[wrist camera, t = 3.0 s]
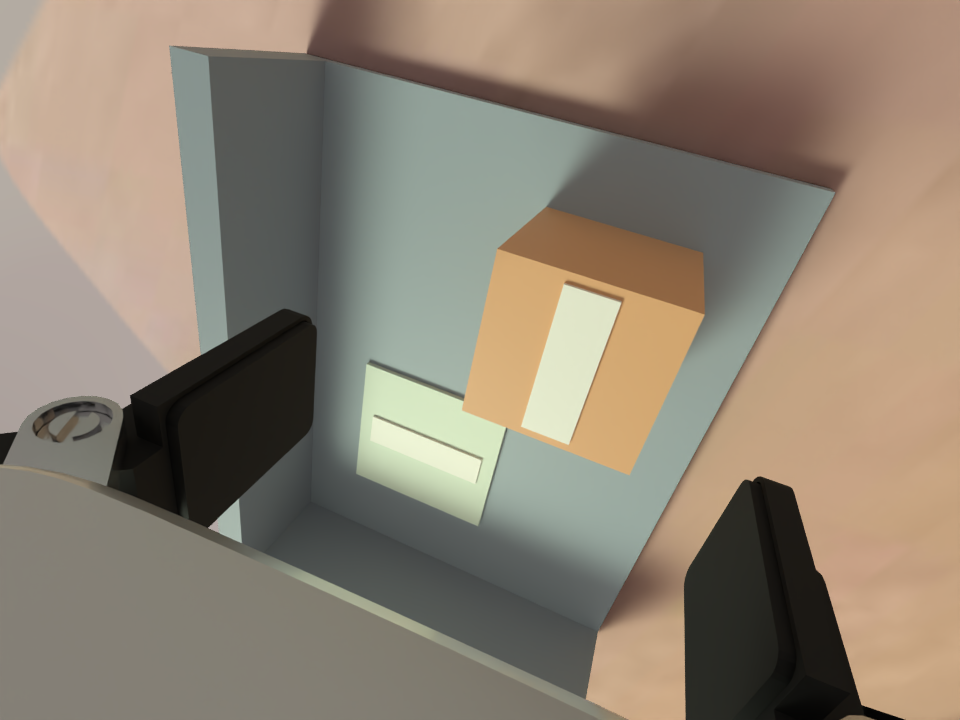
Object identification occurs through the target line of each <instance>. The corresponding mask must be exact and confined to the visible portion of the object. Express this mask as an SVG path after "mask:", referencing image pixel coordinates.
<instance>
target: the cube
mask: <svg viewBox="0 0 960 720" xmlns="http://www.w3.org/2000/svg"><path fill="white" fill-rule="evenodd" d="M704 315H705V300H704V264H703V253H702V252H699V251H696V250H692V249H689V248H685V247H682V246H678V245H675V244H672V243H668V242H665V241H661V240H658V239H655V238H651V237H648V236H644V235H641V234H638V233H634V232H631V231H627V230H624V229H621V228H617V227H614V226H610V225H607V224H604V223H600V222H597V221H593V220H590V219H587V218H583V217H580V216H576V215H573V214H569V213H566V212H563V211H559V210H556V209H552V208H549V207H545V208H544V209H543V210H542V211H541V212H539V213H538V214H537V215H536V216H535V217H534V218H532V219H531V220H530V221H529V222H528V223H527V224H525V225H524V226H523V227H522V228H521V229H520V230H518V231H517V232H516V233H515V234H514V235H513V236H511V237H510V238H509V239H508V240H507V241H506V242H504V243H503V244H502V245H501V246H500V247H499V248H497V252H496V256H495V261H494V265H493V270H492V274H491V279H490V284H489V288H488V293H487V297H486V302H485V306H484V311H483V315H482V320H481V325H480V329H479V334H478V338H477V343H476V347H475V352H474V356H473V361H472V366H471V370H470V375H469V379H468V384H467V388H466V393H465V398H464V402H463V407H462V411H465V412H467V413H470V414H472V415H475V416H477V417H480V418H483V419H485V420H488V421H490V422H493V423H496V424H498V425H501V426H503V427H506V428H508V429H511V430H514V431H516V432H519V433H521V434H524V435H527V436H529V437H532V438H534V439H537V440H539V441H542V442H545V443H547V444H550V445H552V446H555V447H557V448H560V449H563V450H565V451H568V452H570V453H573V454H576V455H578V456H581V457H583V458H586V459H588V460H591V461H594V462H596V463H599V464H601V465H604V466H606V467H609V468H612V469H614V470H617V471H619V472H622V473H625V474H627V475H630V473H631V471H632V469H633V467H634V465H635V463H636V460H637V458H638V456H639V454H640V452H641V450H642V448H643V445H644V443H645V441H646V439H647V437H648V435H649V433H650V431H651V428H652V426H653V424H654V422H655V420H656V418H657V416H658V413H659V411H660V409H661V407H662V405H663V403H664V401H665V399H666V396H667V394H668V392H669V390H670V388H671V386H672V384H673V382H674V379H675V377H676V375H677V373H678V371H679V369H680V367H681V364H682V362H683V360H684V358H685V356H686V354H687V352H688V350H689V347H690V345H691V343H692V341H693V339H694V337H695V335H696V332H697V330H698V328H699V326H700V324H701V322H702V320H703V318H704Z"/></svg>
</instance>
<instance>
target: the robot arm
mask: <svg viewBox="0 0 960 720" xmlns="http://www.w3.org/2000/svg"><path fill="white" fill-rule="evenodd" d="M316 347H317V328H316V326H315V325H313V324H312V320H311V318H310V317H309V316H306V315H304V314H301V313H298V312H295V311H292V310H290V309H285V308H284V309H281V310H279V311H278V312H276V313H274V314H272V315H271V316H269V317H267V318H265V319H264V320H262V321H260V322H258V323H257V324H255V325H253V326H251V327H250V328H248V329H246V330H244V331H243V332H241V333H239V334H237V335H235V336H234V337H232V338H230V339H228V340H227V341H225V342H223V343H221V344H220V345H218V346H216V347H214V348H213V349H211V350H209V351H207V352H206V353H204V354H202V355H200V356H199V357H197V358H195V359H193V360H192V361H190V362H188V363H186V364H185V365H183V366H181V367H179V368H178V369H176V370H174V371H172V372H171V373H169V374H167V375H165V376H164V377H162V378H160V379H158V380H157V381H155V382H153V383H151V384H150V385H148V386H146V387H144V388H143V389H141V390H139V391H137V392H136V393H134V394H132V395H130V398H131V404H130V405H128V406H127V407H125V408H123V409H121V408H120V406H119V405H118V404H117V403H115V402H114V401H112V400H109V399H106V398H102V397H97V396H79V397H71V398H66V399H62V400H58V401H55V402H51V403H49V404H47V405H45V406H43V407H40V408H38V409H37V410H35V411H34V412H33V413H31V414H30V415H29V416H27V418H26V419H25V420H24V422H23V423H22V425H21V426H20V429H19V431H18V432H13V433H4V434H0V720H628V719H626V718H624V717H622V716H620V715H618V714H616V713H613V712H611V711H609V710H607V709H605V708H603V707H601V706H599V705H597V704H595V703H592V702H590V701H588V700H586V699H584V698H582V697H579V696H577V695H575V694H573V693H571V692H568V691H566V690H564V689H562V688H560V687H558V686H555V685H553V684H551V683H549V682H547V681H545V680H542V679H540V678H538V677H536V676H534V675H531V674H529V673H527V672H525V671H523V670H521V669H518V668H516V667H514V666H512V665H510V664H508V663H505V662H503V661H501V660H499V659H497V658H494V657H492V656H490V655H488V654H486V653H484V652H481V651H479V650H477V649H475V648H473V647H471V646H468V645H466V644H464V643H462V642H460V641H457V640H455V639H453V638H451V637H449V636H446V635H444V634H442V633H440V632H438V631H435V630H433V629H431V628H429V627H427V626H424V625H422V624H420V623H418V622H416V621H413V620H411V619H409V618H407V617H405V616H402V615H400V614H398V613H396V612H394V611H391V610H389V609H387V608H385V607H383V606H380V605H378V604H376V603H374V602H372V601H369V600H367V599H365V598H363V597H360V596H358V595H356V594H354V593H352V592H349V591H347V590H345V589H343V588H341V587H338V586H336V585H334V584H332V583H329V582H327V581H325V580H323V579H321V578H318V577H316V576H314V575H312V574H310V573H307V572H305V571H303V570H301V569H298V568H296V567H294V566H292V565H289V564H287V563H285V562H283V561H280V560H278V559H276V558H274V557H271V556H269V555H267V554H265V553H262V552H260V551H258V550H256V549H254V548H251V547H249V546H247V545H245V544H242V543H240V542H238V541H236V540H233V539H231V538H229V537H227V536H224V535H222V534H220V533H218V532H215V531H213V530H211V529H209V528H208V527H209V526H210V525H211V524H212V523H213V522H215V521H216V520H217V519H218V518H219V517H220V516H221V515H222V514H223V513H224V512H225V511H226V510H227V509H228V508H229V507H230V506H232V505H233V504H234V503H235V502H236V501H237V500H238V499H239V498H240V497H241V496H242V495H243V494H244V493H245V492H246V491H247V490H248V489H250V488H251V487H252V486H253V485H254V484H255V483H256V482H257V481H258V480H259V479H260V478H261V477H262V476H263V475H264V474H265V473H266V472H267V471H269V470H270V469H271V468H272V467H273V466H274V465H275V464H276V463H277V462H278V461H279V460H280V459H281V458H282V457H283V456H284V455H285V454H287V453H288V452H289V451H290V450H291V449H292V448H293V447H294V446H295V445H296V444H297V443H298V442H299V441H300V440H301V439H302V438H303V437H304V436H306V434H307V433H308V432H309V430H310V428H311V426H312V423H313V414H314V392H315V369H316ZM684 618H685V698H686V720H874V719H871V718H868V717H865V716H864V712H863V709H862V706H861V702H860V699H859V695H858V692H857V689H856V685H855V682H854V678H853V675H852V672H851V668H850V665H849V662H848V658H847V655H846V651H845V648H844V645H843V641H842V638H841V634H840V631H839V628H838V624H837V621H836V617H835V614H834V611H833V607H832V604H831V601H830V597H829V594H828V590H827V587H826V584H825V581H824V579H823V577H822V575H821V574H820V573H819V572H818V571H816V568H815V565H814V561H813V558H812V554H811V551H810V547H809V544H808V540H807V537H806V533H805V530H804V526H803V523H802V519H801V516H800V512H799V509H798V505H797V502H796V498H795V494H794V491H793V489H792V488H791V487H789V486H786V485H783V484H780V483H778V482H775V481H772V480H769V479H766V478H763V477H761V476H760V477H757V478H756V479H754V481H753V482H752V481H749V480H744V481H743V482H742V483H741V485H740V486H739V488H738V489H737V491H736V493H735V494H734V496H733V497H732V499H731V501H730V502H729V504H728V506H727V507H726V509H725V510H724V512H723V514H722V515H721V517H720V518H719V520H718V522H717V523H716V525H715V527H714V528H713V530H712V531H711V533H710V535H709V536H708V538H707V539H706V541H705V543H704V544H703V546H702V548H701V549H700V551H699V552H698V554H697V556H696V557H695V559H694V560H693V562H692V564H691V565H690V567H689V569H688V571H687V574H686V577H685V582H684Z"/></svg>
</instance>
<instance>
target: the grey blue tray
mask: <svg viewBox="0 0 960 720" xmlns="http://www.w3.org/2000/svg"><path fill="white" fill-rule="evenodd" d="M169 47H170V57H171V67H172V77H173V86H174V96H175V106H176V116H177V126H178V135H179V145H180V155H181V165H182V175H183V184H184V194H185V204H186V214H187V224H188V233H189V243H190V253H191V263H192V273H193V282H194V292H195V302H196V312H197V322H198V331H199V341H200V351H201V355H202V354H204V353H206V352H207V351H209V350H211V349H213V348H214V347H216V346H218V345H220V344H221V343H223V342H225V341H227V340H228V339H230V338H232V337H234V336H235V335H237V334H239V333H241V332H243V331H244V330H246V329H248V328H250V327H251V326H253V325H255V324H257V323H258V322H260V321H262V320H264V319H265V318H267V317H269V316H271V315H272V314H274V313H276V312H278V311H279V310H281V309H284V308H285V309H290V310H292V311H295V312H298V313H301V314H304V315H306V316H309V317H310V318H311V320H312V324H313V325H315V326H316V328H317V347H316V369H315V392H314V414H313V423H312V426H311V428H310V430H309V432H308V433H307V434H306V436H304V437H303V438H302V439H301V440H300V441H299V442H298V443H297V444H296V445H295V446H294V447H293V448H292V449H291V450H290V451H289V452H288V453H287V454H285V455H284V456H283V457H282V458H281V459H280V460H279V461H278V462H277V463H276V464H275V465H274V466H273V467H272V468H271V469H270V470H269V471H267V472H266V473H265V474H264V475H263V476H262V477H261V478H260V479H259V480H258V481H257V482H256V483H255V484H254V485H253V486H252V487H251V488H250V489H248V490H247V491H246V492H245V493H244V494H243V495H242V496H241V497H240V498H239V499H238V500H237V501H236V502H235V503H234V504H233V505H232V506H230V507H229V508H228V509H227V510H226V511H225V512H224V513H223V514H222V515H221V516H220V517H219V518H218V527H219V533H220V534H222V535H224V536H227V537H229V538H231V539H233V540H236V541H238V542H240V543H242V544H245V545H247V546H249V547H251V548H254V549H256V550H258V551H260V552H262V553H265V554H267V555H269V556H271V557H274V558H276V559H278V560H280V561H283V562H285V563H287V564H289V565H292V566H294V567H296V568H298V569H301V570H303V571H305V572H307V573H310V574H312V575H314V576H316V577H318V578H321V579H323V580H325V581H327V582H329V583H332V584H334V585H336V586H338V587H341V588H343V589H345V590H347V591H349V592H352V593H354V594H356V595H358V596H360V597H363V598H365V599H367V600H369V601H372V602H374V603H376V604H378V605H380V606H383V607H385V608H387V609H389V610H391V611H394V612H396V613H398V614H400V615H402V616H405V617H407V618H409V619H411V620H413V621H416V622H418V623H420V624H422V625H424V626H427V627H429V628H431V629H433V630H435V631H438V632H440V633H442V634H444V635H446V636H449V637H451V638H453V639H455V640H457V641H460V642H462V643H464V644H466V645H468V646H471V647H473V648H475V649H477V650H479V651H481V652H484V653H486V654H488V655H490V656H492V657H494V658H497V659H499V660H501V661H503V662H505V663H508V664H510V665H512V666H514V667H516V668H518V669H521V670H523V671H525V672H527V673H529V674H531V675H534V676H536V677H538V678H540V679H542V680H545V681H547V682H549V683H551V684H553V685H555V686H558V687H560V688H562V689H564V690H566V691H568V692H571V693H573V694H575V695H577V696H579V697H582V698H584V699H586V694H587V688H588V683H589V677H590V672H591V666H592V661H593V655H594V650H595V644H596V639H597V633H598V630H599V628H600V627H601V625H602V623H603V621H604V619H605V617H606V615H607V614H608V612H609V610H610V608H611V606H612V604H613V603H614V601H615V599H616V597H617V595H618V593H619V591H620V590H621V588H622V586H623V584H624V582H625V580H626V579H627V577H628V575H629V573H630V571H631V569H632V567H633V566H634V564H635V562H636V560H637V558H638V556H639V555H640V553H641V551H642V549H643V547H644V545H645V543H646V542H647V540H648V538H649V536H650V534H651V532H652V531H653V529H654V527H655V525H656V523H657V521H658V519H659V518H660V516H661V514H662V512H663V510H664V508H665V507H666V505H667V503H668V501H669V499H670V497H671V495H672V494H673V492H674V490H675V488H676V486H677V484H678V483H679V481H680V479H681V477H682V475H683V473H684V471H685V470H686V468H687V466H688V464H689V462H690V460H691V459H692V457H693V455H694V453H695V451H696V449H697V447H698V446H699V444H700V442H701V440H702V438H703V436H704V435H705V433H706V431H707V429H708V427H709V425H710V423H711V422H712V420H713V418H714V416H715V414H716V412H717V411H718V409H719V407H720V405H721V403H722V401H723V399H724V398H725V396H726V394H727V392H728V390H729V388H730V387H731V385H732V383H733V381H734V379H735V377H736V375H737V374H738V372H739V370H740V368H741V366H742V364H743V363H744V361H745V359H746V357H747V355H748V353H749V351H750V350H751V348H752V346H753V344H754V342H755V340H756V339H757V337H758V335H759V333H760V331H761V329H762V327H763V326H764V324H765V322H766V320H767V318H768V316H769V315H770V313H771V311H772V309H773V307H774V305H775V303H776V302H777V300H778V298H779V296H780V294H781V292H782V291H783V289H784V287H785V285H786V283H787V281H788V279H789V278H790V276H791V274H792V272H793V270H794V268H795V267H796V265H797V263H798V261H799V259H800V257H801V255H802V254H803V252H804V250H805V248H806V246H807V244H808V243H809V241H810V239H811V237H812V235H813V233H814V231H815V230H816V228H817V226H818V224H819V222H820V220H821V219H822V217H823V215H824V213H825V211H826V209H827V207H828V206H829V204H830V202H831V200H832V198H833V196H834V195H835V192H834V191H833V190H832V189H830V188H826V187H822V186H818V185H814V184H810V183H807V182H803V181H799V180H795V179H791V178H787V177H783V176H779V175H775V174H772V173H768V172H764V171H760V170H756V169H752V168H748V167H744V166H741V165H737V164H733V163H729V162H725V161H721V160H717V159H713V158H709V157H706V156H702V155H698V154H694V153H690V152H686V151H682V150H678V149H674V148H671V147H667V146H663V145H659V144H655V143H651V142H647V141H643V140H639V139H636V138H632V137H628V136H624V135H620V134H616V133H612V132H608V131H605V130H601V129H597V128H593V127H589V126H585V125H581V124H577V123H573V122H570V121H566V120H562V119H558V118H554V117H550V116H546V115H542V114H538V113H535V112H531V111H527V110H523V109H519V108H515V107H511V106H507V105H503V104H500V103H496V102H492V101H488V100H484V99H480V98H476V97H472V96H469V95H465V94H461V93H457V92H453V91H449V90H445V89H441V88H437V87H434V86H430V85H426V84H422V83H418V82H414V81H410V80H406V79H402V78H399V77H395V76H391V75H387V74H383V73H379V72H375V71H371V70H367V69H364V68H360V67H356V66H352V65H348V64H344V63H340V62H336V61H333V60H329V59H325V58H321V57H317V56H313V55H309V54H305V53H288V52H271V51H254V50H236V49H219V48H201V47H184V46H169ZM545 207H549V208H552V209H556V210H559V211H563V212H566V213H569V214H573V215H576V216H580V217H583V218H587V219H590V220H593V221H597V222H600V223H604V224H607V225H610V226H614V227H617V228H621V229H624V230H627V231H631V232H634V233H638V234H641V235H644V236H648V237H651V238H655V239H658V240H661V241H665V242H668V243H672V244H675V245H678V246H682V247H685V248H689V249H692V250H696V251H699V252H702V253H703V264H704V300H705V315H704V318H703V320H702V322H701V324H700V326H699V328H698V330H697V332H696V335H695V337H694V339H693V341H692V343H691V345H690V347H689V350H688V352H687V354H686V356H685V358H684V360H683V362H682V364H681V367H680V369H679V371H678V373H677V375H676V377H675V379H674V382H673V384H672V386H671V388H670V390H669V392H668V394H667V396H666V399H665V401H664V403H663V405H662V407H661V409H660V411H659V413H658V416H657V418H656V420H655V422H654V424H653V426H652V428H651V431H650V433H649V435H648V437H647V439H646V441H645V443H644V445H643V448H642V450H641V452H640V454H639V456H638V458H637V460H636V463H635V465H634V467H633V469H632V471H631V473H630V475H627V474H625V473H622V472H619V471H617V470H614V469H612V468H609V467H606V466H604V465H601V464H599V463H596V462H594V461H591V460H588V459H586V458H583V457H581V456H578V455H576V454H573V453H570V452H568V451H565V450H563V449H560V448H557V447H555V446H552V445H550V444H547V443H545V442H542V441H539V440H537V439H534V438H532V437H529V436H527V435H524V434H521V433H519V432H516V431H514V430H511V429H508V428H506V427H503V426H501V425H498V424H496V423H493V422H490V421H488V420H485V419H483V418H480V417H477V416H475V415H472V414H470V413H467V412H465V411H462V407H463V402H464V398H465V393H466V388H467V384H468V379H469V375H470V370H471V366H472V361H473V356H474V352H475V347H476V343H477V338H478V334H479V329H480V325H481V320H482V315H483V311H484V306H485V302H486V297H487V293H488V288H489V284H490V279H491V274H492V270H493V265H494V261H495V256H496V252H497V248H499V247H500V246H501V245H502V244H503V243H504V242H506V241H507V240H508V239H509V238H510V237H511V236H513V235H514V234H515V233H516V232H517V231H518V230H520V229H521V228H522V227H523V226H524V225H525V224H527V223H528V222H529V221H530V220H531V219H532V218H534V217H535V216H536V215H537V214H538V213H539V212H541V211H542V210H543V209H544V208H545Z"/></svg>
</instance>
